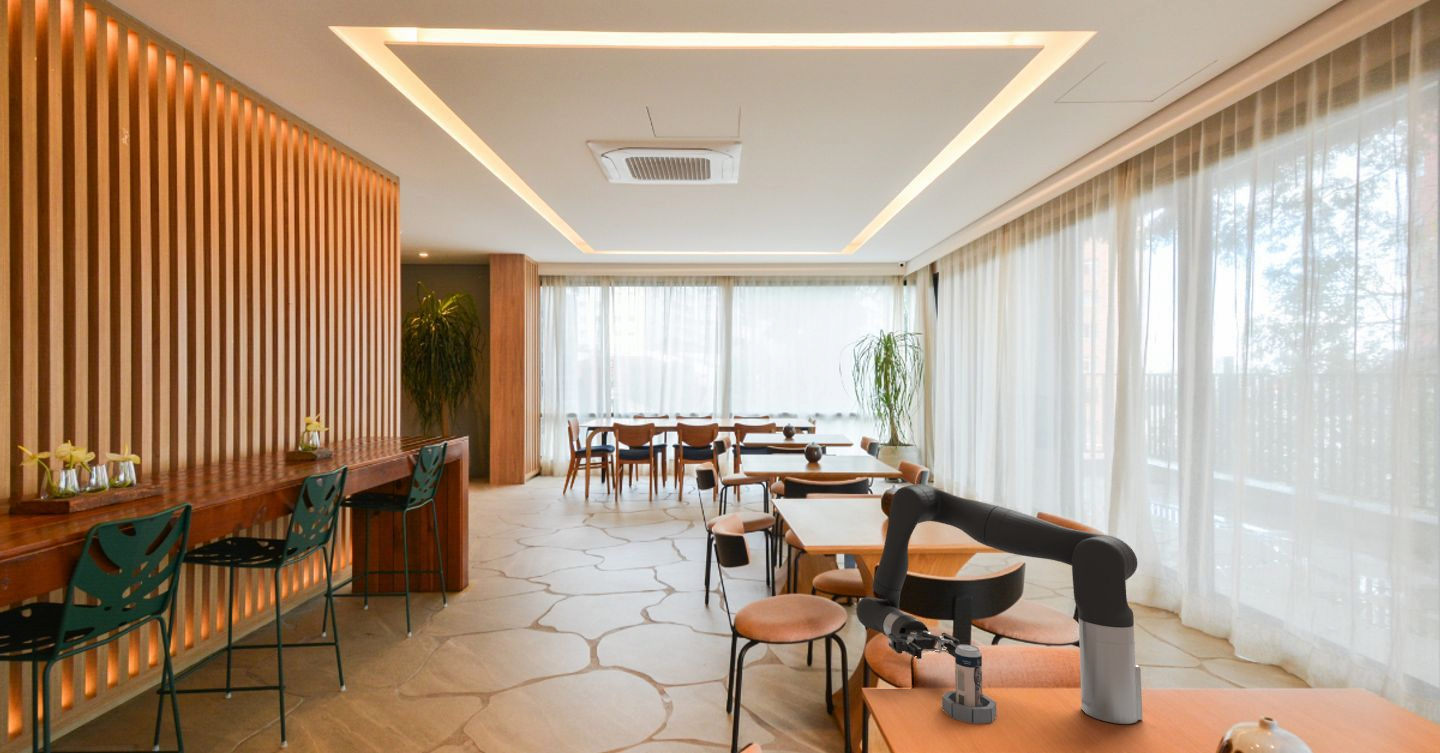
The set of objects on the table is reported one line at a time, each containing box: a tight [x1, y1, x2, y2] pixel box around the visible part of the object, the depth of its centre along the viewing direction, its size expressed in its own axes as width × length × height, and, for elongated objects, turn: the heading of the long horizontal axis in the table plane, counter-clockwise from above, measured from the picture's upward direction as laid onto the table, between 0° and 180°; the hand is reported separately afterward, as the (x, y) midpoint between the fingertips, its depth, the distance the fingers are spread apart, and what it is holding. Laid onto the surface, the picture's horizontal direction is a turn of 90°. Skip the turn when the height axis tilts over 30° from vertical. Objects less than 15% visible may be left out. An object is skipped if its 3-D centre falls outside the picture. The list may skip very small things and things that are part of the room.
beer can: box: [954, 644, 983, 707], centre depth 123 cm, size 5×5×12 cm
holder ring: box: [941, 690, 998, 725], centre depth 123 cm, size 9×9×2 cm
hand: (939, 653), depth 134 cm, fingers open, 8 cm apart
